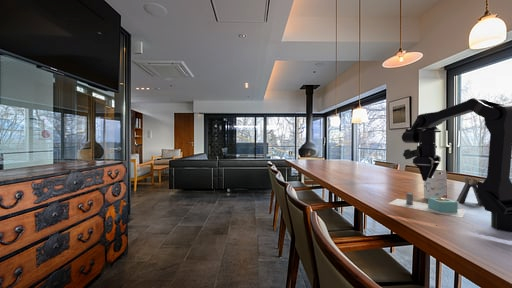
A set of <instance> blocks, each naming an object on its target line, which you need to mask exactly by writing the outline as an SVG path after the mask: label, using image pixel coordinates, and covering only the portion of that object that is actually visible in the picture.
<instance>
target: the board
mask: <svg viewBox="0 0 512 288" xmlns="http://www.w3.org/2000/svg"><path fill="white" fill-rule="evenodd" d="M405 197H406V198H405V199H401V198H396V199H394V200H392V201H391V202H388V205H393V206H398V207H403V208H409V209H415V210H420V211H425V212H430V213H436V214H440V215H441V214H442V215H446V216H452V217H457V218H463V217H464V216H465V214H466V212H467V209H462V208H458V213H453V212H438V211H436V210H433V209H431V208H429V207H428V203H425V202H420V201H419V202H418V201H414V194H413V193H410V192H407V193H405Z"/></svg>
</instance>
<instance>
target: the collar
mask: <svg viewBox="0 0 512 288" xmlns="http://www.w3.org/2000/svg"><path fill="white" fill-rule="evenodd" d="M445 199H446V198H445ZM427 204H428V207H429V208H431V209H433V210H436V211H438V212H453V213H458V209H459V208H458V204H459V202H458V201H454V200H452V199H449V198H447V199H446V201H439V200H438V198H428V199H427Z"/></svg>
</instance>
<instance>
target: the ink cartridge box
mask: <svg viewBox="0 0 512 288" xmlns="http://www.w3.org/2000/svg"><path fill="white" fill-rule="evenodd" d="M428 198H446V199H448V176H447V170H446V169H444V170H435V172H434V174H433V176H432V178H427V180H426V181H423V199H427V200H428Z"/></svg>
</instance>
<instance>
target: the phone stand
mask: <svg viewBox="0 0 512 288" xmlns="http://www.w3.org/2000/svg"><path fill="white" fill-rule="evenodd" d="M471 180H472V182H469V181H471ZM477 182H478V181H477V180H476V179H475V178H473V177H469V176H466V177H465V178H464V185H463V187H462V189H461V191H460V193H459V195H458V197H457V199H456V202H458V204H466V203H467V204H469V202H467V201H466V199H467V198H468V194H469V192H470V189H471V188H472V190H473V193H474V196H475V199H476V202H477V203H475V202H471V204H472V205H479V206H481V207H484V206H483V204H482V201H481V200H480V199H479V197H478V193H476V191H477V189H478V188H477Z"/></svg>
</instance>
